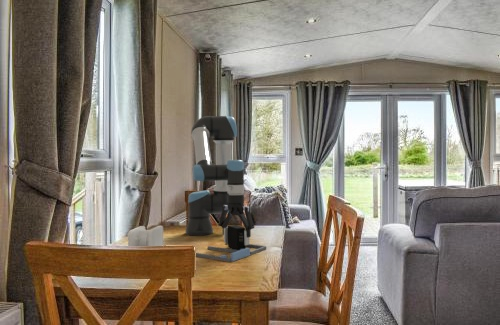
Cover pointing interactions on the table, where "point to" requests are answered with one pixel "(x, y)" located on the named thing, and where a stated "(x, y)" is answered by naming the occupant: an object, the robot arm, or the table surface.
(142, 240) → the cable organizer
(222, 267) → the table surface
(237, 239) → the electronic device
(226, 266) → the table surface
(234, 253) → the grey flat frame
